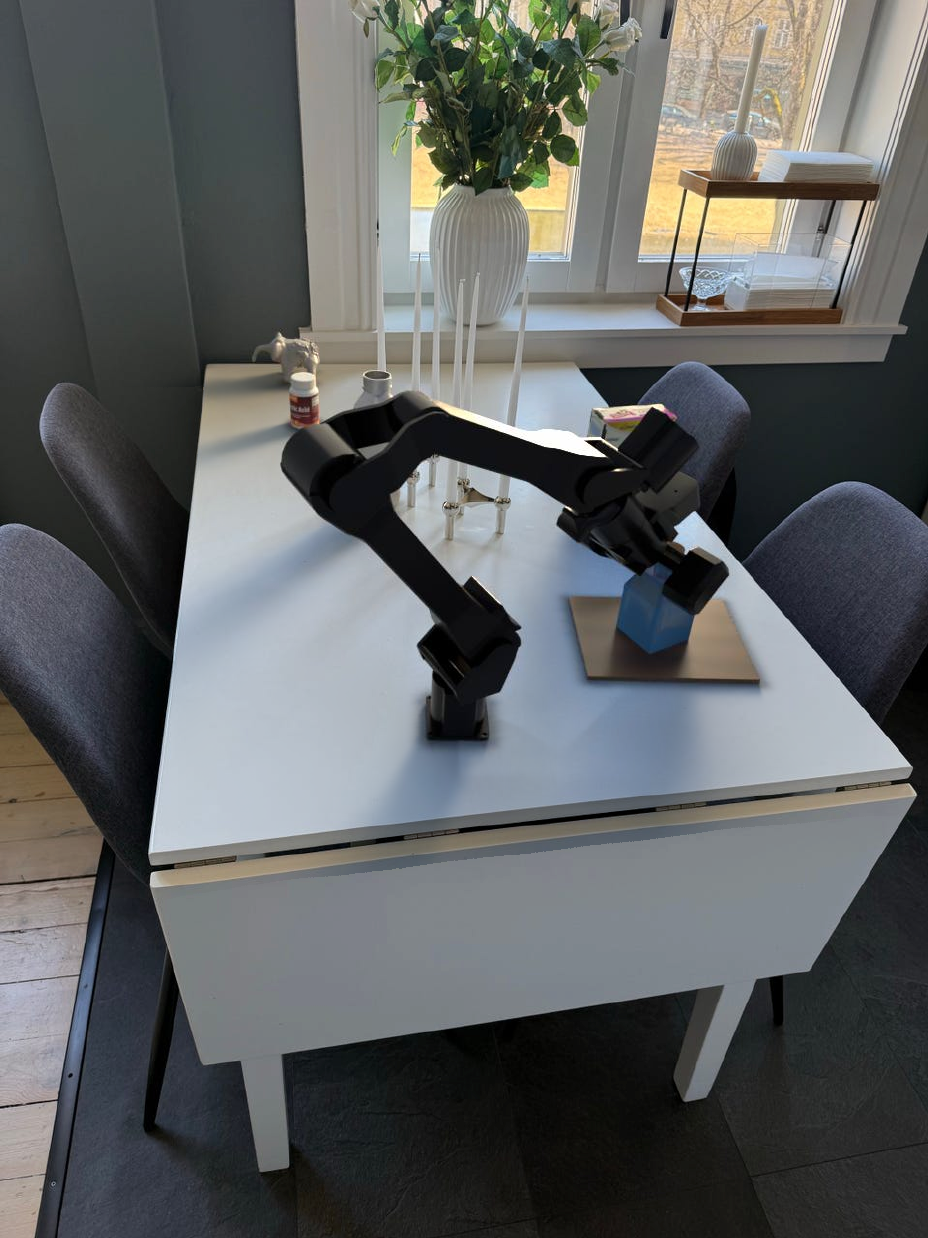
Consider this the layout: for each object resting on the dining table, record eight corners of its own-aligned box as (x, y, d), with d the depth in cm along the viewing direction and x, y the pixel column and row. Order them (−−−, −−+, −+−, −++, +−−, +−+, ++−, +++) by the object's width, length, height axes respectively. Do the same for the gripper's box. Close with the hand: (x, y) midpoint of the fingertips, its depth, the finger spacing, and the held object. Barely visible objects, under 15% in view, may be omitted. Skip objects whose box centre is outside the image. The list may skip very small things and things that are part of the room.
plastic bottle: (393, 522, 129) (395, 387, 118) (347, 515, 130) (345, 380, 118) (405, 501, 134) (408, 369, 123) (360, 494, 135) (359, 363, 124)
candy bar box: (587, 528, 131) (604, 421, 122) (573, 511, 135) (589, 406, 125) (656, 520, 134) (678, 415, 125) (641, 504, 138) (661, 401, 129)
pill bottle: (286, 427, 153) (283, 379, 148) (298, 416, 156) (296, 369, 151) (312, 432, 152) (310, 383, 147) (324, 421, 155) (322, 373, 150)
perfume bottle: (654, 612, 114) (673, 529, 107) (688, 639, 110) (710, 554, 103) (616, 626, 111) (632, 541, 104) (649, 654, 107) (669, 567, 100)
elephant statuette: (327, 384, 169) (326, 343, 164) (263, 391, 164) (260, 349, 160) (312, 366, 175) (310, 326, 171) (250, 373, 171) (247, 332, 166)
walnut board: (759, 683, 105) (760, 679, 104) (586, 680, 103) (587, 676, 103) (721, 603, 118) (722, 599, 117) (567, 599, 116) (568, 595, 116)
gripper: (740, 494, 87) (780, 560, 99) (602, 423, 98) (653, 490, 111) (668, 588, 87) (716, 642, 99) (539, 506, 99) (597, 563, 111)
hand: (670, 579), depth 105 cm, fingers open, 9 cm apart
